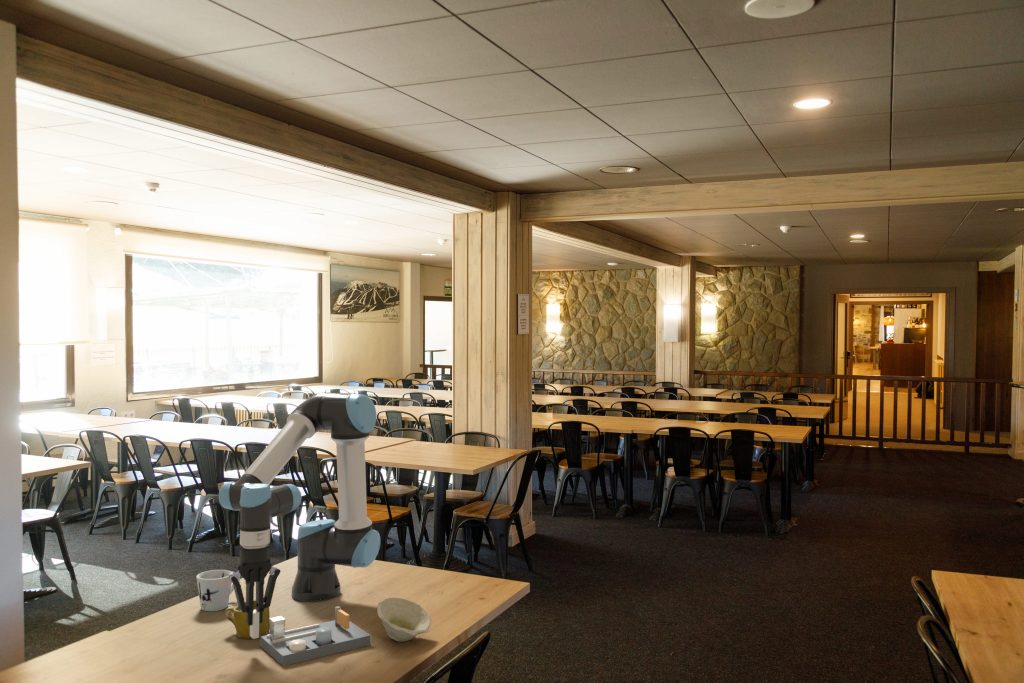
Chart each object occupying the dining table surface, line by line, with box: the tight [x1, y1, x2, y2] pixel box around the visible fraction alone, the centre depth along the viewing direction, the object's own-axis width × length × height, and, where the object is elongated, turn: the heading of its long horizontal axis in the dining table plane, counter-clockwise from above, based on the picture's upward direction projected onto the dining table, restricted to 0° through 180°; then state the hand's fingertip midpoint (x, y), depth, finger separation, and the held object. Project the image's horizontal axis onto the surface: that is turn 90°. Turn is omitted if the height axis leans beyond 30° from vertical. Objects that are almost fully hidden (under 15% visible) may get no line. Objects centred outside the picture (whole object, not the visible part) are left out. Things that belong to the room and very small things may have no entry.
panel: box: [260, 619, 372, 667], centre depth 210 cm, size 16×24×3 cm, turn 127°
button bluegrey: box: [316, 627, 332, 646], centre depth 206 cm, size 4×4×3 cm
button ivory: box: [290, 639, 306, 653], centre depth 201 cm, size 4×4×3 cm
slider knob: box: [269, 615, 287, 640], centre depth 207 cm, size 3×3×5 cm
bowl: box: [376, 597, 432, 643], centre depth 214 cm, size 15×14×10 cm
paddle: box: [334, 606, 350, 629], centre depth 215 cm, size 7×1×5 cm, turn 37°
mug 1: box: [196, 569, 236, 612], centre depth 241 cm, size 10×15×10 cm
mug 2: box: [224, 599, 271, 640], centre depth 218 cm, size 12×10×10 cm
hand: (254, 636), depth 204 cm, fingers closed
